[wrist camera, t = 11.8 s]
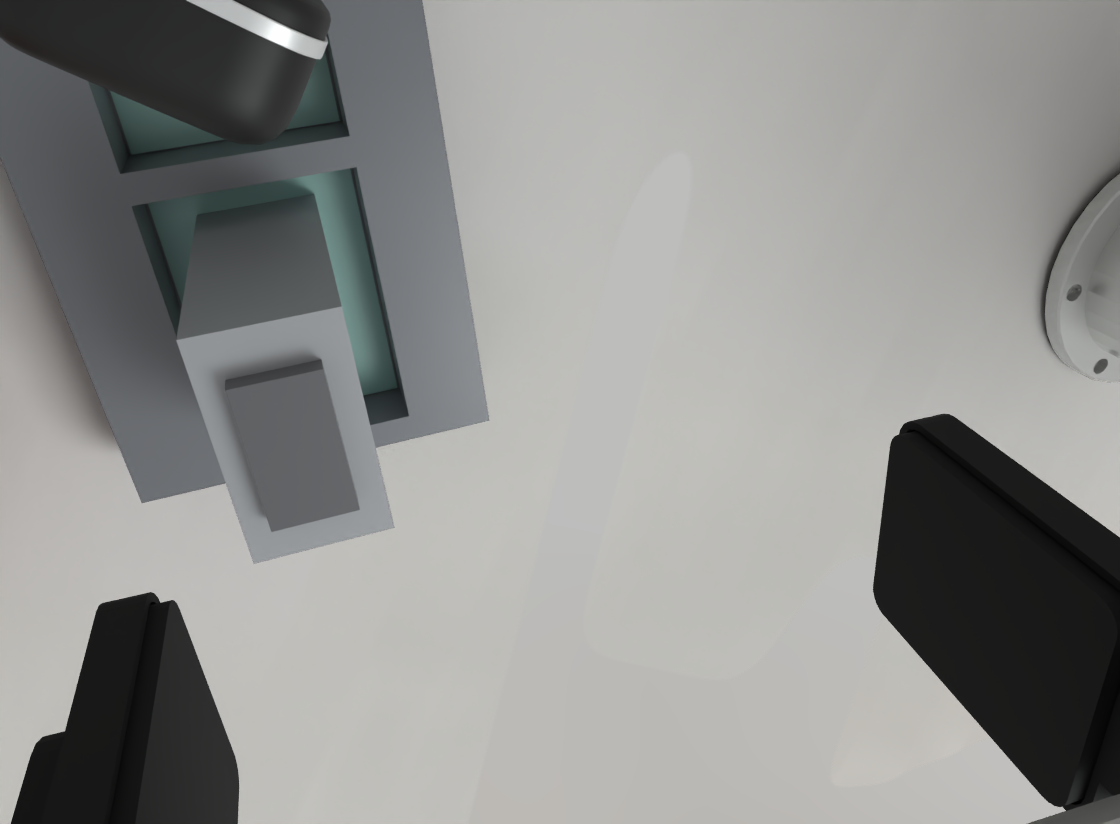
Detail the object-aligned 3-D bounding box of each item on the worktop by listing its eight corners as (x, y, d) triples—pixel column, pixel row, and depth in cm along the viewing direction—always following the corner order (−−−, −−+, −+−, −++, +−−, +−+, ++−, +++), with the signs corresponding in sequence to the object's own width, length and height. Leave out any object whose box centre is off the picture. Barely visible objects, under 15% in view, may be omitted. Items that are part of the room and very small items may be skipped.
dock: (363, -258, 27) (437, -366, 17) (470, 381, 38) (556, 559, 28) (-114, -221, 25) (-385, -322, 14) (150, 454, 36) (110, 681, 25)
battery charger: (40, -8, 27) (-74, 35, 17) (78, -139, 26) (-22, -171, 16) (272, 99, 30) (284, 185, 20) (315, -14, 29) (349, 22, 19)
